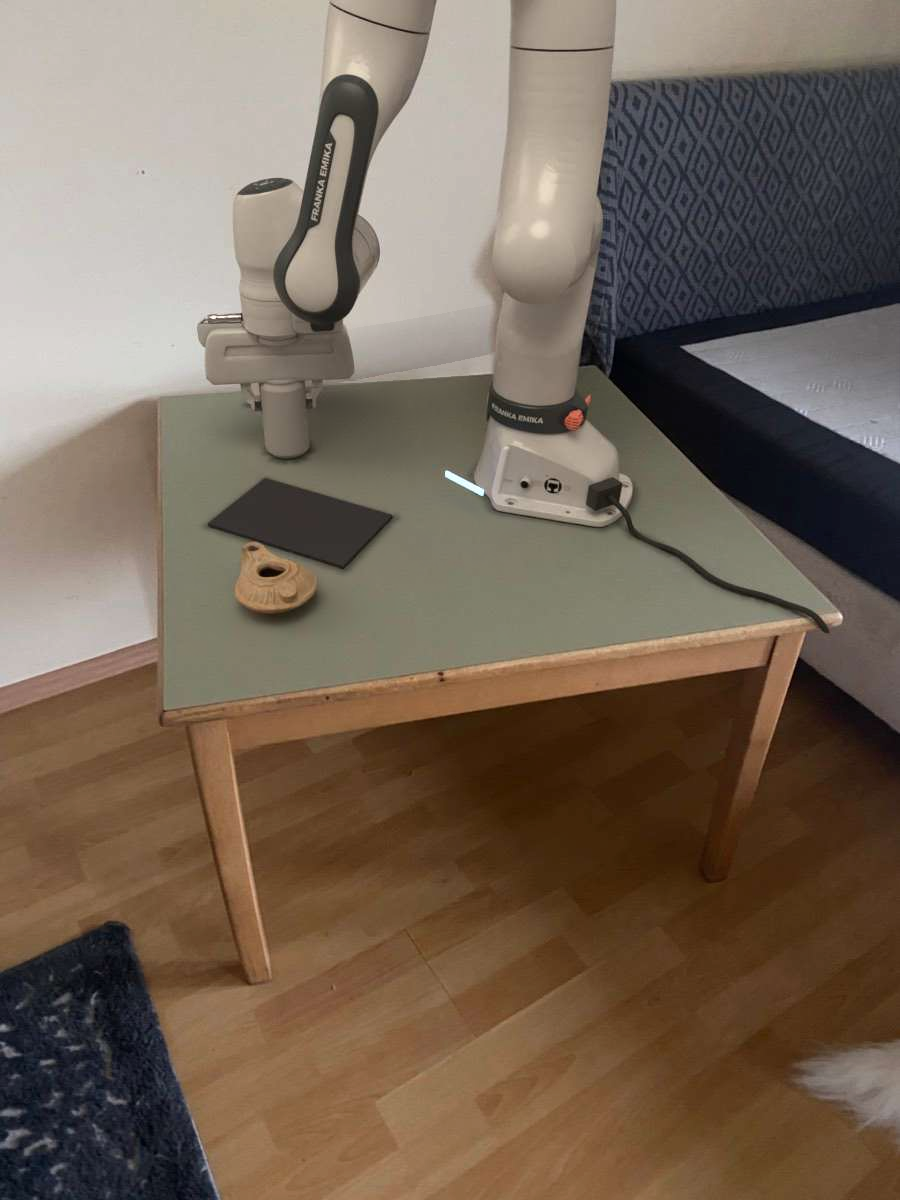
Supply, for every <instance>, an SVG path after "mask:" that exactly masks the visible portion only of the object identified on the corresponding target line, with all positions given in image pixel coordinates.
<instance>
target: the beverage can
mask: <svg viewBox="0 0 900 1200" xmlns="http://www.w3.org/2000/svg"><path fill="white" fill-rule="evenodd" d="M259 392H260V399H261V407H262V411H261V417H262V426H263V436H264V444H265V449H266V451H267V452H268V453H269V454H270V455H272V456H274V457H275V458H279V459H294V458H298V457H300V456H302V455H303V454H304V453H306V452H307V451H308V450H309V449H310V444H311V443H310V441H311V440H310V431H309V417H308V409H306V399H305V398H306V393H307V390H306V381H298V379H284V380H269V381H268V380H265V383H259Z"/></svg>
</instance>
